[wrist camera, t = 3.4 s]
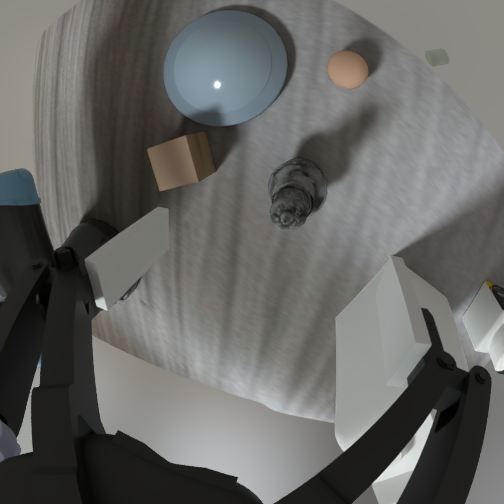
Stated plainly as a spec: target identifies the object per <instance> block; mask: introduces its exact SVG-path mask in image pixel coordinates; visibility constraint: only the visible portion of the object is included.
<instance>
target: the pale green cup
mask: <svg viewBox="0 0 504 504" xmlns="http://www.w3.org/2000/svg"><path fill="white" fill-rule="evenodd" d="M425 57H426V59H427V62H428V63H429V65H430V66H437V65H444V64H448V63H449V57H448V55H447V52H446V51H445V50H444V49H435V50H428V51H425Z"/></svg>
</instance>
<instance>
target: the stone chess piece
mask: <svg viewBox="0 0 504 504" xmlns="http://www.w3.org/2000/svg"><path fill="white" fill-rule="evenodd" d="M268 193H269V197H270V199H271V202H272V206H271V209H270V217H271V220H272V222H273V223H274V224H275V225H276V226H277V227H278V228H280V229H282V230H286V231H293V230H296V229H298V228H300V227H301V226H302V225H303V224H304V223H305V221H306V218H307V217H308V216H311V215H313V214H314V213H316V212H317V211H318V210H319V209H320V208H321V207H322V206H323V204H324V202H325V200H326V196H327V184H326V182H325V179H324V176H323V173H322V171H321V169H320V168H319V167H318V166H317V165H316V164H315V163H314V162H312V161H310V160H308V159H303V158H296V159H292V160H289V161H288V162H286V163H284V164H282V165H281V166H279V167H278V168H277V169H276V170H275V171H274V172H273V173H272V175H271V177H270V179H269V184H268Z"/></svg>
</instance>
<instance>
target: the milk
mask: <svg viewBox="0 0 504 504" xmlns="http://www.w3.org/2000/svg"><path fill="white" fill-rule="evenodd" d="M387 263H388V261H387V262H386V264H385V265H384V266H383V267H382V268H381V269H380V270H379V272H378V273H377V274H376V275H375V276H374V277H373V278H372V280H371V281H370V282H369V283H368V284H367V285H366V286H365V287H364V288H363V289H362V290H361V292H360V293H359V294H358V295H357V296H356V297H355V298H354V299H353V300H352V301H351V302H350V303H349V304H348V305H347V306H346V307H345V308H344V309H343V311H342V312H341V313H340V314H339V315H338V316H337V317H336V318H335V320H336V413H335V435H336V439H337V442H338V443H339V445H340V447H341V448H342V450H343V451H344V452H345V451H346V450H347V449H348V448H349V447H350V446H351V445H352V444H353V443H355V442H356V441H357V440H358V439H359V438H360V437H361V436H362V435H363V434H364V433H365V432H366V431H367V430H368V429H369V428H370V427H371V426H372V425H373V424H374V423H375V422H376V421H377V420H378V419H379V418H380V417H381V416H382V415H383V414H384V413H385V412H386V411H387V410H388V409H389V408H390V406H391V405H392V404H393V403H394V402H395V401H396V400H397V399H398V397H399V396H400V395H401V394H402V393H403V392H404V390H405V389H406V388H407V387H408V383H407V379H406V381H405V382H404V383H403V384H402V386H401V387H396V386H387V385H385V372H384V360H383V350H382V341H381V333H380V325H379V318H378V311H377V305H376V298H375V293H376V291H377V288H378V286H379V283H380V281H381V278H382V276H383V273H384V271H385V268H386V265H387ZM406 268H407V271H408V274H409V276H410V279H411V282H412V284H413V287H414V290H415V293H416V296H417V298H418V301H419V304H420V307H421V308H426V309H428V310H429V312H430V313H431V314H432V315H433V317H434V320H435V323H436V324H435V325H436V326H437V329H438V331H437V332H439V336H440V339H441V342H442V345H443V349H444V351H446V352H447V353H449V354H450V355H451V356H452V357H453V358H454V359H455V361H456V364H457V367H458V368H460V369H462V370H465V371H467V372H469V370H468V366H467V362H466V358H465V354H464V350H463V347H462V343H461V340H460V336H459V333H458V330H457V326H456V323H455V320H454V317H453V314H452V311H451V308H450V306H449V303H448V300H447V298H446V297H445V296H444V295H443V294H442V293H440V292H439V291H438V290H436V289H435V288H434V287H433V286H431V285H430V284H429V283H428V282H426V281H425V280H424V279H422V278H421V277H420V276H418V275H417V274H416V273H414V272H413V271H412V270H410V269H409V268H408V267H406ZM436 412H437V410H435V409H433V410H432V411H431V413H430V414H429V416H428V417H427V418H426V420H425V421H424V423H423V424H422V426H421V427H420V428H419V430H418V431H417V432H416V434H415V435H414V436H413V438H412V439H411V440H410V441H409V443H408V444H407V445H406V446H405V448H404V449H403V450H402V451H401V453H400V454H399V455H398V456H397V457H396V458H395V460H394V461H393V462H392V463H391V464H390V465H389V466H388V468H387V469H386V470H385V471H384V472H383V473H382V474H381V475H380V476H379V477H378V478H377V479H376V480H375V481H374V482H373V483H372V487H373V490H374V492H375V495H376V498H377V500H378V503H379V504H396V503H397V501H398V500H399V498H400V496H401V494H402V492H403V490H404V489H405V487H406V485H407V483H408V481H409V479H410V477H411V475H412V473H413V470H414V468H415V466H416V464H417V462H418V459H419V457H420V455H421V452H422V450H423V448H424V445H425V443H426V440H427V438H428V435H429V432H430V429H431V427H432V424H433V421H434V418H435V415H436Z"/></svg>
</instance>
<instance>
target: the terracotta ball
mask: <svg viewBox="0 0 504 504" xmlns="http://www.w3.org/2000/svg"><path fill="white" fill-rule="evenodd" d="M327 70H328V74H329V76H330V78H331V79H332V80H333V82H334V83H336V84H337V85H339V86H341V87H343V88H348V89H353V88H357V87H359V86H361V85H363V84H364V83H365V81H366V80H367V77H368V66H367V64H366V62H365V60H364V59H363V58H362V57H361V56H360V55H358V54H356V53H354V52H351V51H340V52H337V53H335V54H334V55H333V56H332V57H331V58H330V59H329V61H328V65H327Z"/></svg>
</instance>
